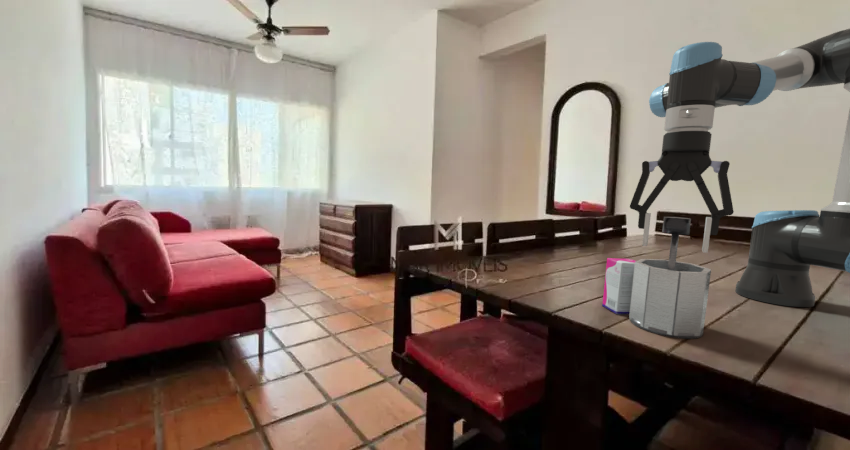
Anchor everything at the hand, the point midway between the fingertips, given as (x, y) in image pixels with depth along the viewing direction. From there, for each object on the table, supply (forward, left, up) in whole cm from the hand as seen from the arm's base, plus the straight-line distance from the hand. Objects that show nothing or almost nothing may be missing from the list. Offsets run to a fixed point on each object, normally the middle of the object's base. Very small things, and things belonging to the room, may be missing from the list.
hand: (673, 248), depth 73 cm
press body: (0, -1, -16) cm, 16 cm away
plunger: (0, 0, -14) cm, 14 cm away
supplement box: (+4, -9, -16) cm, 19 cm away
